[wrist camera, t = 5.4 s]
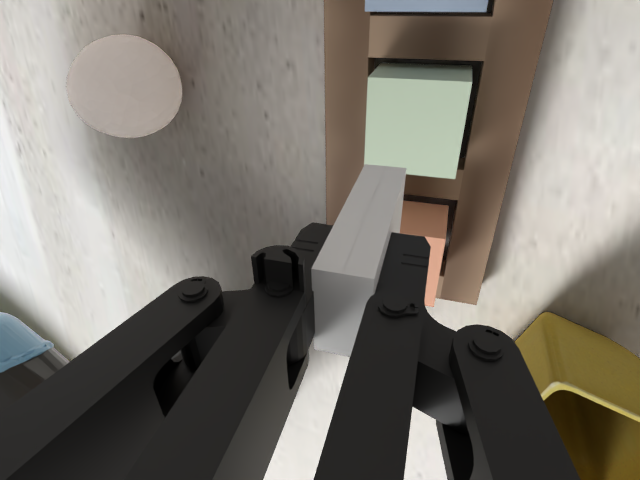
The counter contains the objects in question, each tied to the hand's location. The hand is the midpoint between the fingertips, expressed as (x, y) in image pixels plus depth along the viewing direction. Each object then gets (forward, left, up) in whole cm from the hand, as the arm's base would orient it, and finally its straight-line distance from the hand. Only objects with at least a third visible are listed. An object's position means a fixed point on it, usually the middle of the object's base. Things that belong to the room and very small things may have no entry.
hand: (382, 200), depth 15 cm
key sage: (0, 0, -12) cm, 12 cm away
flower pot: (+12, -17, -13) cm, 24 cm away
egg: (-18, +1, -13) cm, 22 cm away
